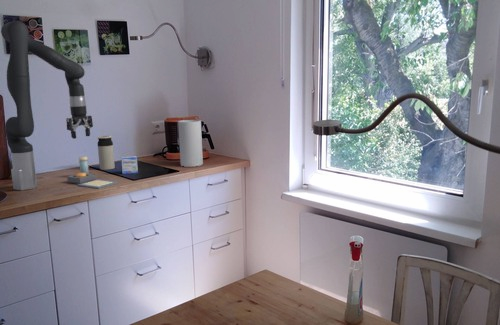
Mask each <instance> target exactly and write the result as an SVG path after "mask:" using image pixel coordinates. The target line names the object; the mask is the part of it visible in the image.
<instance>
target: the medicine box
mask: <svg viewBox="0 0 500 325" xmlns="http://www.w3.org/2000/svg"><path fill="white" fill-rule="evenodd" d="M120 158H121V171H122V173H121V174H122V175H127V174H128V175H129V174H131V175H132V174H139V171H138V157H137V155H134V156H121V157H120Z"/></svg>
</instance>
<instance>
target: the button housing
mask: <svg viewBox="0 0 500 325" xmlns="http://www.w3.org/2000/svg"><path fill="white" fill-rule="evenodd" d="M66 179H67V184H68V183H69V184H75V185H78V184H82V183H85V182H89V181H93V180H96V175H95V174H92V173H89V174H86V176H84V177H76V176H75V174H72V175H68V176H66Z"/></svg>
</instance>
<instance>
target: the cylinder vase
mask: <svg viewBox="0 0 500 325" xmlns="http://www.w3.org/2000/svg"><path fill="white" fill-rule="evenodd" d="M177 124H178V125H177V126H178V140H179V141H178V143H179V157H180V158H179V160H180V161H179V162H180V166H181V167H183V166H184V168H197V167H200V166H203V164H204V159H203V138H202V119H201V120H200V119H182V120H178V121H177ZM196 166H197V167H196Z"/></svg>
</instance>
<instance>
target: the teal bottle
mask: <svg viewBox="0 0 500 325" xmlns="http://www.w3.org/2000/svg"><path fill="white" fill-rule="evenodd" d="M88 160H89V159H88V156H79V157H78V162H79V170H80V172H79V173H86V174H90V173H89V172H90V171H89V162H88Z"/></svg>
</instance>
